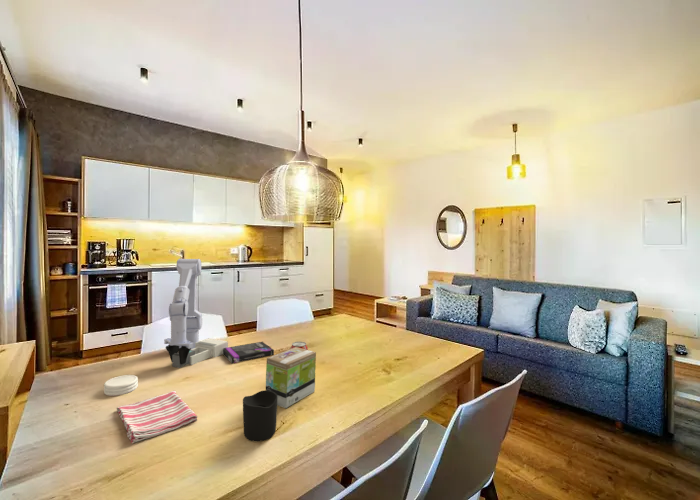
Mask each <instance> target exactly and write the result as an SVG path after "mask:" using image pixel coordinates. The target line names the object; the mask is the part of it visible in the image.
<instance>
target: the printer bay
mask: <svg viewBox="0 0 700 500" xmlns="http://www.w3.org/2000/svg"><path fill="white" fill-rule="evenodd" d="M228 347H229V341H226V340H221V339H215V338H210V337H208V338H206V339H201V340H199V342H196V343H195V348H193V349H191V350H195V355H193V356H190V364H189V366H190V365H191V366H193V365H195V364H198V363H200V362H203V361H205V360H207V359H209V358H216V357H217V358H218V357H219V356H222V355H223V348H228Z"/></svg>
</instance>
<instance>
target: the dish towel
mask: <svg viewBox="0 0 700 500" xmlns="http://www.w3.org/2000/svg"><path fill="white" fill-rule="evenodd" d="M116 411H117V413H119V414H118V415H119V417H120V419H121V421H122V423H123V425H124V430H126V431H127V432H126V435H127V436H126V437H127V438H128V439H129V440H130V443H131V444H134V443H137V442H140V441H143V440H147V439H150V438H154V437H157V436H160V435H163V434H165V433H168V432H170V431H174V430H176V429H180V427H183V426H185V425H188V424H190V423H193V422H197V421H198V415H197V414H196V413H195V411H194V410H192V409H191V408H190V407H189V405H188V404H187V403H186V402H185V401H184V400H182V398H181V396H180V395H178V394H177V391H176V390H172V391H169V392H167V393H164V394H163V393H162V394H160V395H156V396H153V397H149V398H146V399H143V400H140V401H137V402H134V403H130V404H124V405H120V406H117V407H116Z"/></svg>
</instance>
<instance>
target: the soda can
mask: <svg viewBox="0 0 700 500" xmlns="http://www.w3.org/2000/svg"><path fill="white" fill-rule="evenodd" d="M295 347H298V348H302V349H306V350H308V349H309V347H308V346H307V342H305V341H295V342H292V343H291V346H290V348H289V349H292V348H295Z"/></svg>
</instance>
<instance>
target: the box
mask: <svg viewBox="0 0 700 500" xmlns="http://www.w3.org/2000/svg"><path fill="white" fill-rule="evenodd" d="M222 355H223V356H224V357H225V358H226V359H227V360H228V361H229V362H230V363H231V364H237V363H240V362H247V361H251V359H252V360H255V359H261V358H265V357H266V358H267V357H271V356H274V355H275V350H274V349H273V348H272V347H271V346H269V345H267V344H266V343H265V342H264V341H257V342H252V343H247V344H241V345H240V344H239V345H235V346H228V348H223V354H222Z"/></svg>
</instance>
